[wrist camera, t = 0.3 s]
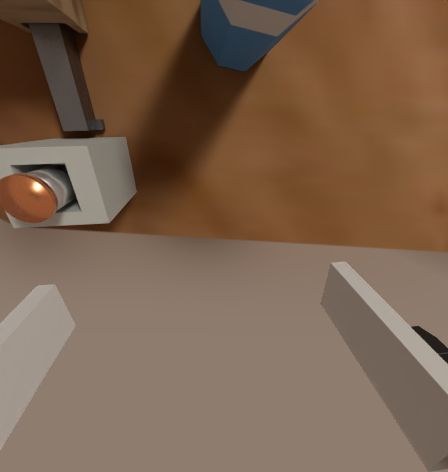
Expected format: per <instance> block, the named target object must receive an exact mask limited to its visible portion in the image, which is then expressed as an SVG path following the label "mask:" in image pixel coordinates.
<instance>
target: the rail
mask: <svg viewBox="0 0 448 472" xmlns="http://www.w3.org/2000/svg"><path fill="white" fill-rule="evenodd" d="M28 24H29V27H30V30H31V33H32V36H33V39H34V42H35V45H36V48H37V52H38V55H39V58H40V61H41V64H42V67H43V70H44V73H45V76H46V79H47V82H48V85H49V88H50V91H51V94H52V97H53V100H54V103H55V107H56V110H57V113H58V116H59V119H60V122H61V125H62V128H63V131H90V130H105V125H104V121H103V120H95V116H94V112H93V108H92V104H91V100H90V97H89V93H88V89H87V85H86V81H85V77H84V73H83V70H82V66H81V62H80V58H79V54H78V50H77V46H76V43H75V39H74V35H73V31H72V28H71V27H70V26H68V25H67V24H65V23H28Z"/></svg>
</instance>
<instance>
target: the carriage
mask: <svg viewBox="0 0 448 472" xmlns="http://www.w3.org/2000/svg"><path fill="white" fill-rule="evenodd" d="M0 20H1V21H4V22H6V23H10V24H12V25H14V26H16V27H18V28H20V29H22V30H24V31H26V32H28V33H31V30H30V27H29V24H28V23H65V24H67V25H68V26H70V27H71V28H73V29H74V30H75V31H77V32H78V33H88V31H87V27H86V22H85V18H84V14H83V10H82V5H81V1H80V0H0Z"/></svg>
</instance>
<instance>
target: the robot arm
mask: <svg viewBox="0 0 448 472" xmlns="http://www.w3.org/2000/svg"><path fill="white" fill-rule="evenodd" d="M321 305H322V306H323V308H324V309H325V311H326V313H327V314H328V316H329V317H330V319H331V320H332V322H333V323H334V325H335V327H336V328H337V330H338V331H339V333H340V334H341V336H342V338H343V339H344V341H345V342H346V344H347V345H348V347H349V348H350V350H351V352H352V353H353V355H354V356H355V358H356V359H357V361H358V362H359V364H360V366H361V367H362V369H363V370H364V372H365V373H366V375H367V376H368V378H369V380H370V381H371V383H372V384H373V386H374V387H375V389H376V391H377V392H378V394H379V395H380V397H381V398H382V400H383V401H384V403H385V405H386V406H387V408H388V409H389V411H390V412H391V414H392V415H393V417H394V419H395V420H396V422H397V423H398V425H399V426H400V428H401V430H402V431H403V433H404V434H405V436H406V437H407V439H408V441H409V442H410V444H411V445H412V447H413V448H414V450H415V451H416V453H417V454H418V456H419V458H420V459H421V461H422V462H423V464H424V465H425V467H426V469H427V470H428V471H429V472H430V471H436V470H443V469H448V348H447V347H446V346H445V345H444V344H443V343H442V342H440V341H439V340H438V339H437V338H436V337H435V336H433V335H432V334H430V333H429V332H427V331H425V330H424V329H422V328H421V327H419V326H414V327H410V326H409V325H408V324H407V323H406V322H405V321H404V320H403V319H402V318H401V317H400V316H399V315H398V314H397V313H396V312H395V311H394V310H393V309H392V308H391V307H390V306H389V305H388V304H387V303H386V302H385V301H384V300H383V299H382V298H381V297H380V296H379V295H378V294H377V293H376V292H375V291H374V290H373V289H372V288H371V287H370V286H369V285H368V284H367V283H366V282H365V281H364V280H363V279H362V278H361V277H360V276H359V275H358V274H357V273H356V272H355V271H354V270H353V269H352V268H351V267H350V266H349V265H348V264H347V263H346V262H337V263H331V264H330V269H329V272H328V277H327V281H326V284H325V288H324V292H323V296H322V300H321ZM74 328H75V323H74V321H73V319H72V317H71V315H70V313H69V311H68V309H67V307H66V306H65V304H64V301H63V300H62V298H61V296H60V294H59V292H58V290H57V288H56V286H55V284H54V285H41V286H36V288H35V289H34V290H33V291H32V292H31V293H30V294H29V295H28V296H27V297H26V298H25V299H24V300H23V301H22V302H21V303H20V304H19V305H18V306H17V307H16V308H15V309H14V310H13V311H12V312H11V313H10V314H9V315H8V316H7V317H6V318H5V319H4V320H3V321H2V322H1V323H0V450H1V448H2V447H3V445H4V444H5V442H6V440H7V438H8V437H9V435H10V434H11V432H12V430H13V429H14V427H15V425H16V423H17V422H18V420H19V419H20V417H21V415H22V414H23V412H24V410H25V409H26V407H27V405H28V404H29V402H30V401H31V399H32V397H33V395H34V394H35V392H36V390H37V389H38V387H39V386H40V384H41V382H42V381H43V379H44V377H45V375H46V374H47V372H48V371H49V369H50V367H51V366H52V364H53V362H54V361H55V359H56V357H57V356H58V354H59V353H60V351H61V349H62V347H63V346H64V344H65V343H66V341H67V339H68V338H69V336H70V334H71V333H72V331H73V329H74Z"/></svg>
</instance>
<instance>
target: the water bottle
mask: <svg viewBox="0 0 448 472" xmlns="http://www.w3.org/2000/svg"><path fill="white" fill-rule="evenodd" d="M318 1H319V0H201V37H202V38H203V40H204V42H205V44H206V45H207V47H208V49H209V50H210V52H211V54H212V56H213V57H214V59H215V61H216V63H217V64H218V66H222V67H226V68H231V69H235V70H240V71H244V72H245V71H246V70H248V69H249V68H250V67H251V66H252V65H253V64H255V63H256V62H257V61H258V60H259V59H261V58H262V57H263V56H264V55H265V54H267V53H268V52H269V51H270V50H271V49H272V48H273V47H274V46H275V45H276V44H277V43H278V42H279V41H280V40H281V39H282V38H283V37H284V36H285V35H286V34H287V33H288V32H289V31H290V30H291V29H292V28H293V27H294V26H295V25H296V24H297V23H298V22H299V21H300V20H301V19H302V18H303V17H304V16H305V15H306V13H307V12H308V11H309V10H310V9H311V8H312V7H313V6H314V5H315V4H316V3H317V2H318Z"/></svg>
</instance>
